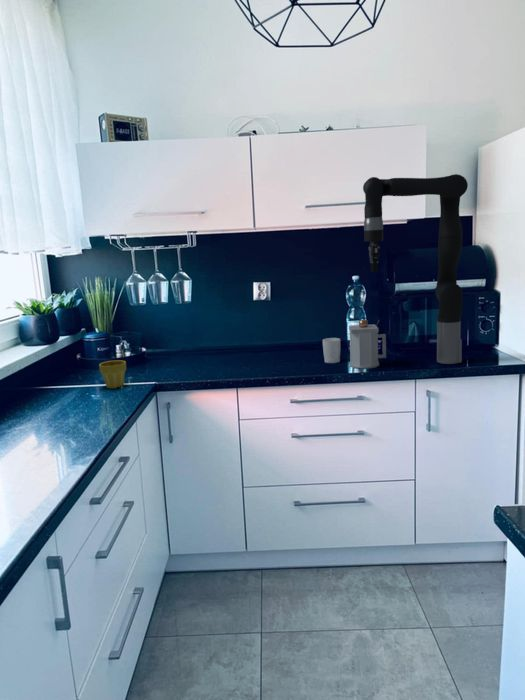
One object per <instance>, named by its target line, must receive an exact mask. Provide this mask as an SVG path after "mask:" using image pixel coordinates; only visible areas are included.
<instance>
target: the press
mask: <svg viewBox="0 0 525 700" xmlns="http://www.w3.org/2000/svg"><path fill="white" fill-rule="evenodd" d="M379 329H380V328H379V327H378V326H377V325H376V324H368V326H367V327H364V328H362V327H359V324H358V325H355V324H354V325H348V330H349V352H350V353H349V354H350V355H349V357H350V358H349V360H350V362H349V363H348V364H349V367H350V368H352V367H353V369H357V368H360V370H361V369H362V370H363V369H364V370H365V369H366V370H367V369H374V368H377V367H380V362H379V359H387V340H386V339H387V336H386V333H382V334H381V333H380V334H379V331H380V330H379ZM379 338H380V339H381V338H382V354H379V341H378V339H379Z"/></svg>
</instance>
